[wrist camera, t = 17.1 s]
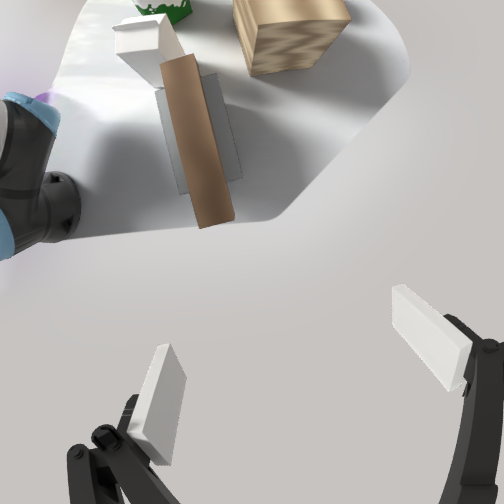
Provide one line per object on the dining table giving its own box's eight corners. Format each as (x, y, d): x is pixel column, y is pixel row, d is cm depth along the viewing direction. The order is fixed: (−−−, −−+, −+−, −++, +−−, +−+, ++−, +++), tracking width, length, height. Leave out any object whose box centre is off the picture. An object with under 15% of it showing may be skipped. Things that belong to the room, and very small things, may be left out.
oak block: (250, 76, 44) (258, 24, 24) (233, 19, 40) (232, -45, 20) (311, 67, 44) (351, 19, 24) (292, 11, 40) (317, -48, 20)
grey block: (198, 186, 50) (180, 194, 34) (180, 114, 46) (154, 91, 30) (241, 174, 50) (243, 177, 34) (222, 102, 46) (216, 73, 29)
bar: (203, 222, 35) (199, 229, 31) (167, 73, 29) (159, 63, 25) (234, 214, 35) (234, 220, 31) (197, 64, 29) (193, 53, 25)
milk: (184, 87, 44) (152, 40, 23) (153, 88, 44) (105, 47, 23) (188, 58, 43) (161, 1, 22) (157, 60, 42) (116, 8, 21)
